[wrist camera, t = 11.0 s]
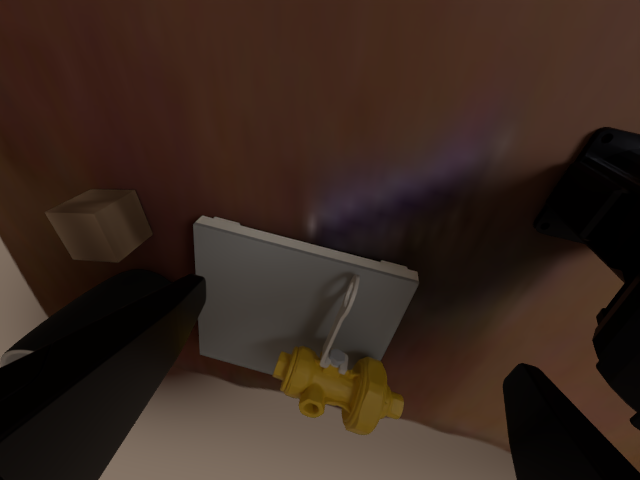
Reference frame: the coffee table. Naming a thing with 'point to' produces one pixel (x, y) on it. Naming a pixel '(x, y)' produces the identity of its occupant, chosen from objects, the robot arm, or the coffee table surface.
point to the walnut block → (101, 224)
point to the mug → (88, 310)
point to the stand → (291, 296)
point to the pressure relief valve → (339, 380)
